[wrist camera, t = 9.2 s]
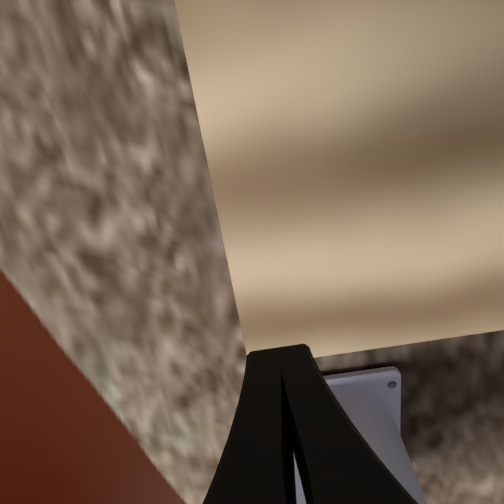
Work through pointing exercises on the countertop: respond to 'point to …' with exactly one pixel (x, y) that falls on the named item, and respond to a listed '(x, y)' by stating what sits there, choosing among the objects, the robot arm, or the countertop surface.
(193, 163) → the countertop surface
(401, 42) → the board
